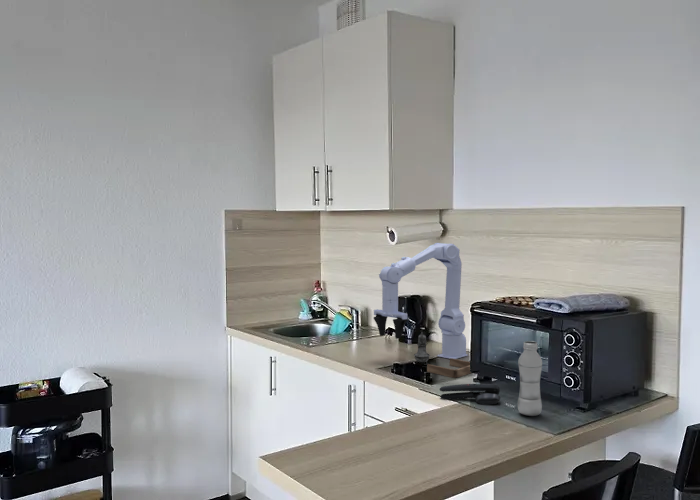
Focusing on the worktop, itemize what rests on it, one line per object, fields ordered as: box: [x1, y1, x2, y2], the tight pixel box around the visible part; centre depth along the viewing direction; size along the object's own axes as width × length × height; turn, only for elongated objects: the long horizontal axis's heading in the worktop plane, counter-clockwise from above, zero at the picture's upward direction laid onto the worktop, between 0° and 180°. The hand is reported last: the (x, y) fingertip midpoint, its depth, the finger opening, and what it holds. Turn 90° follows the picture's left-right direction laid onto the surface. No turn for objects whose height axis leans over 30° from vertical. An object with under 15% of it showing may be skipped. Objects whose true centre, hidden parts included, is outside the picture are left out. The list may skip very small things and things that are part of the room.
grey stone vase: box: [413, 332, 431, 365], centre depth 229 cm, size 6×6×12 cm
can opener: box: [439, 382, 501, 405], centre depth 186 cm, size 18×7×6 cm, turn 73°
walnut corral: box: [426, 358, 472, 379], centre depth 220 cm, size 14×12×2 cm
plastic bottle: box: [517, 340, 543, 417], centre depth 171 cm, size 6×7×20 cm
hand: (390, 336), depth 229 cm, fingers open, 7 cm apart
